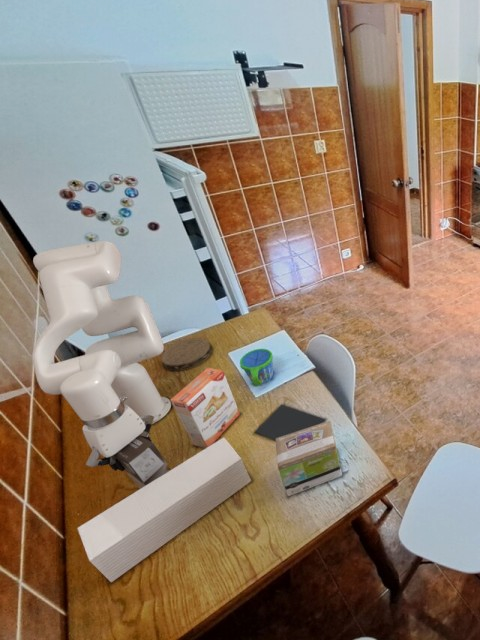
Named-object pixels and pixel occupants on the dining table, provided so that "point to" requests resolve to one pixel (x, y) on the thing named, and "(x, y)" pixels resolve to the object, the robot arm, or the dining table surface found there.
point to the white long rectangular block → (162, 509)
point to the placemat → (287, 422)
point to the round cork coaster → (186, 354)
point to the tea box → (307, 458)
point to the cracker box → (206, 407)
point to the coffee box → (142, 461)
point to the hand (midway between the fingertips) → (134, 456)
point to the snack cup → (258, 366)
